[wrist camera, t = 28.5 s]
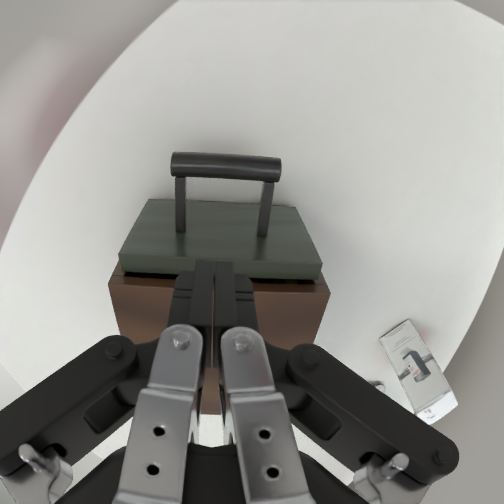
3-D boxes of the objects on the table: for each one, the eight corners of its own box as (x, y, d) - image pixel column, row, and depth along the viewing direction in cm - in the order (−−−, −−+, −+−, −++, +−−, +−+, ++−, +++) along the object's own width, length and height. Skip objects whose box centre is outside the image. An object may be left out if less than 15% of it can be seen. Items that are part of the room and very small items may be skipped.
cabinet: (144, 210, 23) (107, 283, 15) (297, 218, 25) (331, 293, 17) (158, 334, 31) (145, 410, 23) (272, 338, 32) (284, 413, 24)
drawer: (147, 136, 19) (108, 166, 13) (305, 146, 21) (343, 180, 14) (159, 324, 29) (148, 388, 22) (271, 328, 30) (282, 392, 24)
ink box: (425, 342, 37) (460, 406, 27) (397, 361, 38) (427, 427, 28) (409, 315, 33) (452, 390, 23) (377, 338, 35) (411, 416, 25)
